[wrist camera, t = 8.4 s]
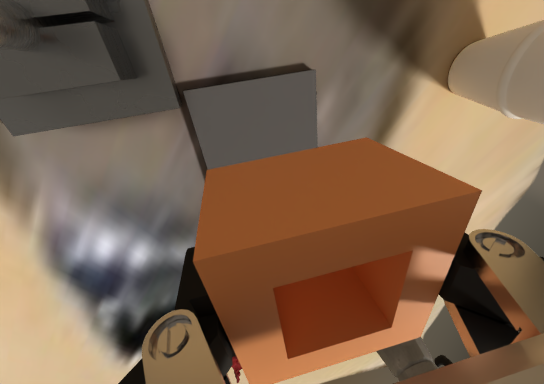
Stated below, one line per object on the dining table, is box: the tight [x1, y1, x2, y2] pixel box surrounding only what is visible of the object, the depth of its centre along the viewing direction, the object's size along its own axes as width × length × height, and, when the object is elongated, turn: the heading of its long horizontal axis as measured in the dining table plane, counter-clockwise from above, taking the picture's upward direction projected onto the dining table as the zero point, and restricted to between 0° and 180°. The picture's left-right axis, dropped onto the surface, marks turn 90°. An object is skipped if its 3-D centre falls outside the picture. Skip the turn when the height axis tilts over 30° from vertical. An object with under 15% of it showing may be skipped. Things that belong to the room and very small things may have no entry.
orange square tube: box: [193, 138, 482, 384], centre depth 8 cm, size 6×6×4 cm
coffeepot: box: [377, 337, 453, 381], centre depth 35 cm, size 15×9×18 cm, turn 166°
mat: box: [183, 70, 317, 170], centre depth 19 cm, size 10×10×1 cm
